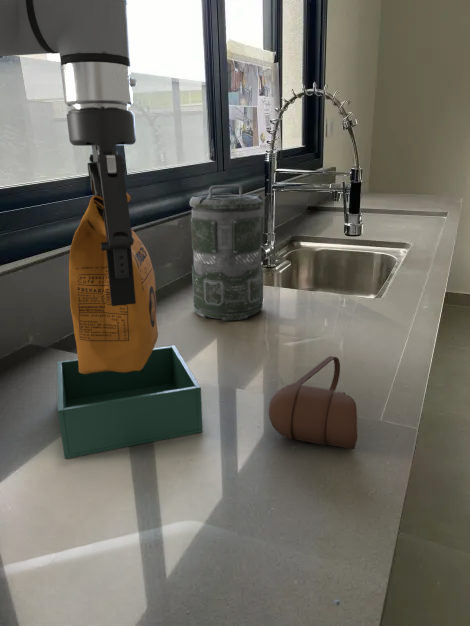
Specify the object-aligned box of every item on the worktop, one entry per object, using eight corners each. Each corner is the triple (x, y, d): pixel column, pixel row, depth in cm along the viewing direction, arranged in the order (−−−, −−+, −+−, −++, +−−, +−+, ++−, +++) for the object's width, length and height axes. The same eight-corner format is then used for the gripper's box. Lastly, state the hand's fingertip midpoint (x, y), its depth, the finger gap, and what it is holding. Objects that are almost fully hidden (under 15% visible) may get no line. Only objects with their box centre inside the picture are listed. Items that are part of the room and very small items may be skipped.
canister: (244, 297, 124) (243, 181, 115) (275, 315, 110) (277, 185, 101) (184, 306, 117) (178, 184, 108) (209, 326, 104) (205, 189, 95)
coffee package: (170, 343, 72) (161, 187, 65) (144, 381, 60) (131, 195, 53) (104, 341, 73) (89, 187, 66) (66, 377, 61) (43, 195, 55)
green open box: (64, 459, 60) (57, 411, 58) (62, 402, 73) (57, 361, 71) (202, 432, 65) (200, 387, 63) (176, 383, 79) (174, 345, 76)
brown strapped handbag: (354, 464, 58) (358, 412, 56) (260, 444, 62) (260, 394, 60) (375, 396, 73) (379, 353, 71) (299, 383, 78) (300, 342, 76)
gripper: (152, 99, 47) (165, 314, 53) (120, 116, 69) (133, 267, 76) (68, 97, 44) (93, 323, 51) (63, 116, 67) (81, 272, 73)
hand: (117, 290), depth 63 cm, fingers closed on coffee package, 12 cm apart
